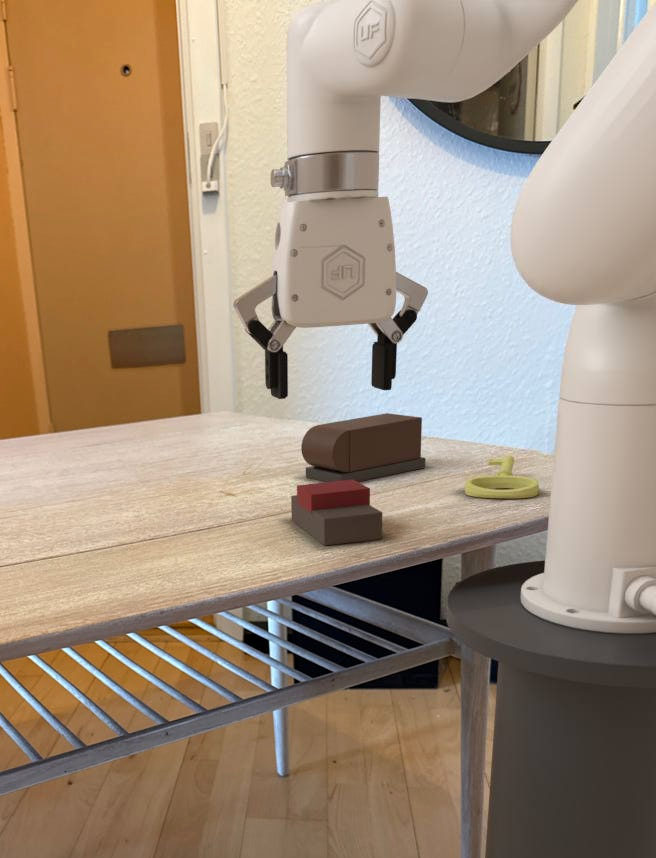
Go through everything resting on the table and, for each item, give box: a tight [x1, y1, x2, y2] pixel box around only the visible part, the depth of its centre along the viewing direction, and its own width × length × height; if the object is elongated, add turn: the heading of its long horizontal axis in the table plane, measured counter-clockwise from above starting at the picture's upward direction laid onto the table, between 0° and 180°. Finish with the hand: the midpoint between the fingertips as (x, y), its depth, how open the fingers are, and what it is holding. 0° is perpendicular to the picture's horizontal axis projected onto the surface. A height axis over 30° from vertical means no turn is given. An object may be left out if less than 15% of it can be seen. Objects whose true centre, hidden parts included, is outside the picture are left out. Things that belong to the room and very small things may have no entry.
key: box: [464, 454, 540, 499], centre depth 99 cm, size 7×12×2 cm, turn 176°
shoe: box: [300, 412, 426, 483], centre depth 109 cm, size 14×7×6 cm, turn 120°
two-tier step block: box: [290, 480, 383, 547], centre depth 86 cm, size 10×6×4 cm, turn 10°
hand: (330, 392), depth 83 cm, fingers open, 9 cm apart
